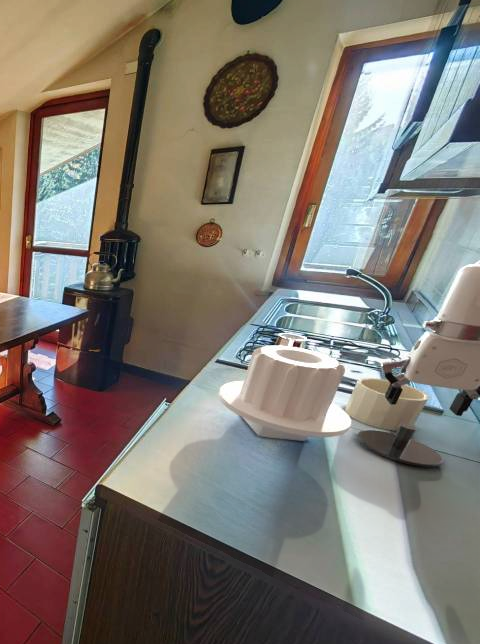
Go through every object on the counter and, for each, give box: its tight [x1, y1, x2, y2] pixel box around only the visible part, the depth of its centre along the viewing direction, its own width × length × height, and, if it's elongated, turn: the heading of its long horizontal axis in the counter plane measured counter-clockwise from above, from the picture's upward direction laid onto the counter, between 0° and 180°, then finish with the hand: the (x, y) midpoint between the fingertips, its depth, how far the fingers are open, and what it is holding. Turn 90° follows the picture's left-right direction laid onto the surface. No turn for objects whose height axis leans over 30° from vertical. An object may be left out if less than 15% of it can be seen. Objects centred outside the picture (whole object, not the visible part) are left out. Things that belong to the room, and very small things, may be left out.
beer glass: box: [273, 332, 308, 349], centre depth 115 cm, size 7×7×15 cm
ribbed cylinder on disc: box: [217, 344, 352, 442], centre depth 91 cm, size 25×25×19 cm
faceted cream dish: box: [344, 377, 430, 432], centre depth 98 cm, size 12×12×8 cm
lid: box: [356, 424, 443, 468], centre depth 85 cm, size 13×13×6 cm
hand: (421, 407), depth 82 cm, fingers open, 9 cm apart
